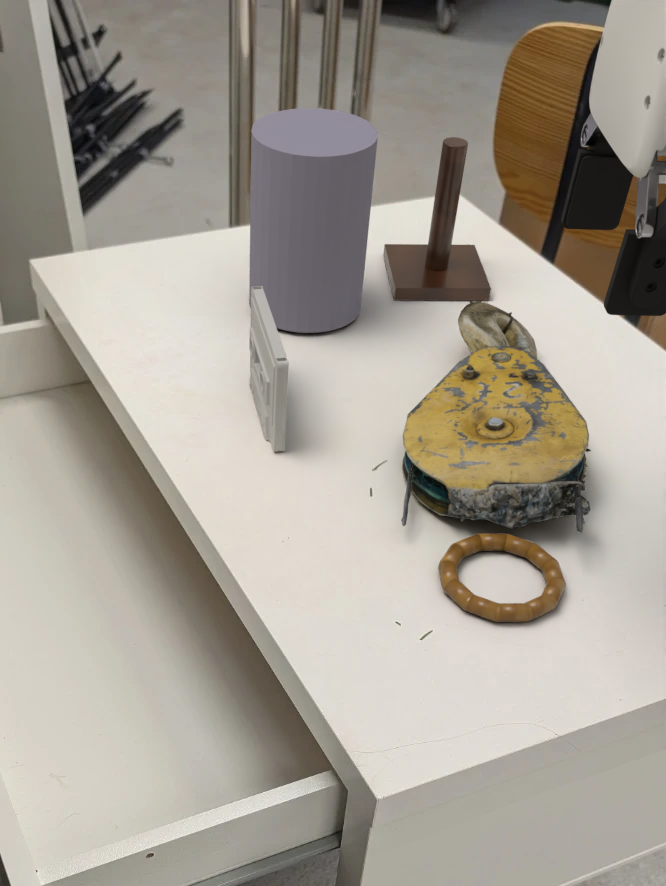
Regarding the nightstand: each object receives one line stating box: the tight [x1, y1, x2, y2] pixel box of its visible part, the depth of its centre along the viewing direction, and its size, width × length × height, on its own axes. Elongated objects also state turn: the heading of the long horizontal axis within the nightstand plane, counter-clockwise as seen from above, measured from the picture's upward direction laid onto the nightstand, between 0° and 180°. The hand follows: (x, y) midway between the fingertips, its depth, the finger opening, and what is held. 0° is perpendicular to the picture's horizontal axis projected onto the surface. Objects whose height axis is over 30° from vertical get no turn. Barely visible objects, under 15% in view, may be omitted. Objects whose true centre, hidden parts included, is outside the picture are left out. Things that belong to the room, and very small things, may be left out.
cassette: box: [248, 286, 290, 453], centre depth 80 cm, size 12×2×8 cm, turn 9°
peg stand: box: [382, 136, 492, 301], centre depth 94 cm, size 9×9×12 cm
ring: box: [437, 532, 567, 623], centre depth 70 cm, size 8×8×1 cm
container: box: [248, 107, 379, 334], centre depth 89 cm, size 10×10×15 cm
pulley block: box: [400, 300, 592, 534], centre depth 80 cm, size 14×6×30 cm
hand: (609, 267), depth 55 cm, fingers open, 9 cm apart
